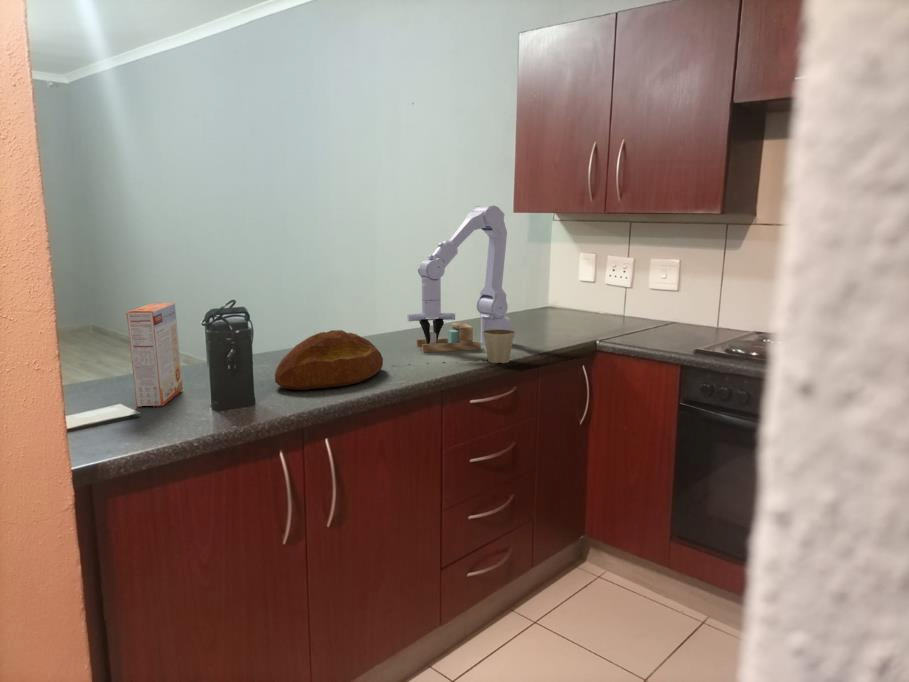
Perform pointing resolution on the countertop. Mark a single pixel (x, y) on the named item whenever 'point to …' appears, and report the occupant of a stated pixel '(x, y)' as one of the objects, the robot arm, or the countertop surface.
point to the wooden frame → (443, 344)
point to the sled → (432, 337)
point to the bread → (328, 361)
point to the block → (453, 336)
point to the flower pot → (498, 345)
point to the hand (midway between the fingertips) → (431, 343)
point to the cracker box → (154, 353)
